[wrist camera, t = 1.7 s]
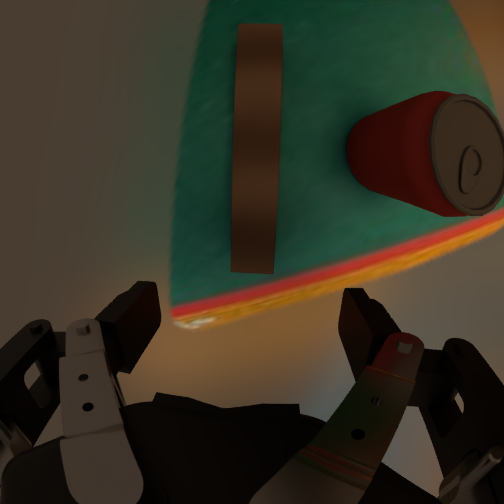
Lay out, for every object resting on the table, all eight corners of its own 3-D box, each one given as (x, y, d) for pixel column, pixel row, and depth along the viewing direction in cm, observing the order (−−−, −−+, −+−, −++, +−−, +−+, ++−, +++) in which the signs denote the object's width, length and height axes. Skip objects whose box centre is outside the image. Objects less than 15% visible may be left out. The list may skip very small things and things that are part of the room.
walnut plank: (243, 44, 17) (238, 23, 14) (280, 45, 17) (282, 24, 14) (237, 253, 23) (230, 271, 19) (273, 255, 23) (273, 274, 19)
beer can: (331, 171, 20) (400, 184, 9) (360, 101, 18) (440, 54, 7) (397, 206, 21) (491, 249, 9) (423, 139, 19) (524, 137, 7)
